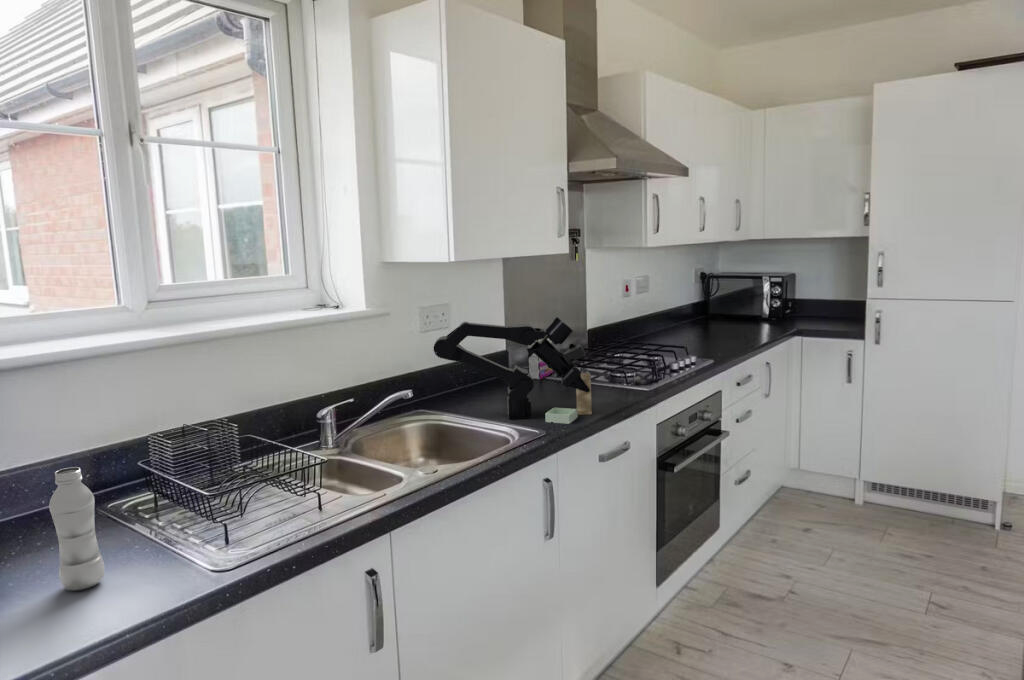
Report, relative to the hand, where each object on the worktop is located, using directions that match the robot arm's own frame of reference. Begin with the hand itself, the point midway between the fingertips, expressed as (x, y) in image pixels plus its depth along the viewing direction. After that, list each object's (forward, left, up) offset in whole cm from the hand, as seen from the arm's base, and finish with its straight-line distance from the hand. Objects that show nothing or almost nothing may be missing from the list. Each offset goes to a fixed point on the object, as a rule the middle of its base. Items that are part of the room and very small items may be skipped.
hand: (588, 389), depth 212 cm
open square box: (-9, -5, -7) cm, 13 cm away
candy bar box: (-5, +60, -7) cm, 60 cm away
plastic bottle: (-105, -87, -7) cm, 137 cm away
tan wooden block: (-1, 0, -7) cm, 7 cm away
